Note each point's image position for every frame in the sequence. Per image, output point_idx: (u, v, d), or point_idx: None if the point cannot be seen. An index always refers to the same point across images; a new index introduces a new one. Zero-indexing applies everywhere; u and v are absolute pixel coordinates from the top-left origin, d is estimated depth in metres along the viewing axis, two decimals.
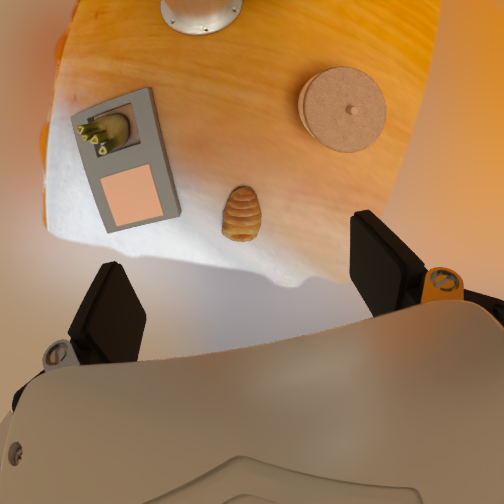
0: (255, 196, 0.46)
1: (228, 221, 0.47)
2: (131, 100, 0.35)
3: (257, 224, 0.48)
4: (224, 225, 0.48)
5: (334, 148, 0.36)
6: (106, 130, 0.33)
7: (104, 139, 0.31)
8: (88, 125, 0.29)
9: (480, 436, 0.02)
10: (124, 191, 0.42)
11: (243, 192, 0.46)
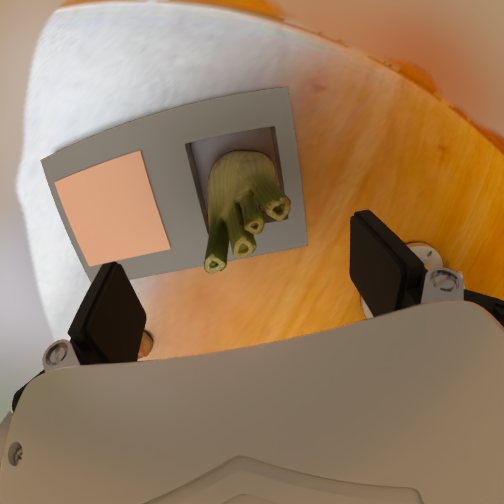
0: (144, 356, 0.33)
1: None
2: (290, 219, 0.24)
3: None
4: None
5: None
6: None
7: None
8: None
9: (480, 436, 0.02)
10: (117, 202, 0.21)
11: (146, 348, 0.32)
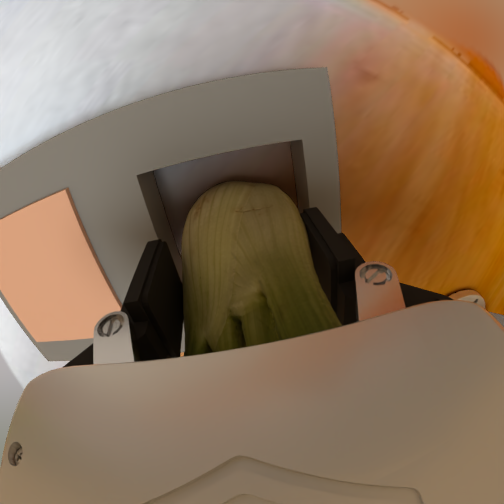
0: None
1: None
2: None
3: None
4: None
5: None
6: None
7: None
8: None
9: (480, 436, 0.02)
10: (48, 268, 0.12)
11: None
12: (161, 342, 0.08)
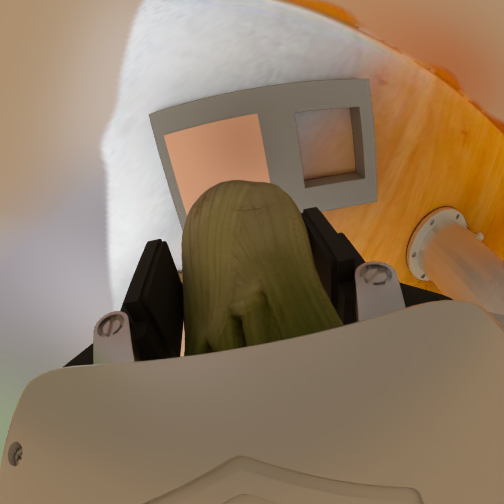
0: None
1: None
2: (366, 179, 0.28)
3: None
4: None
5: None
6: None
7: None
8: None
9: (480, 436, 0.02)
10: (230, 156, 0.26)
11: None
12: (161, 342, 0.08)
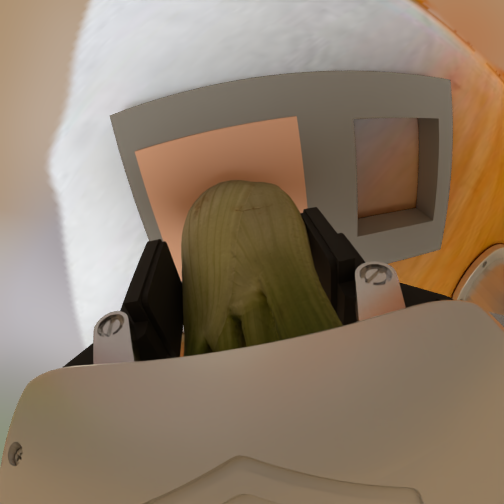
0: None
1: None
2: (434, 221, 0.19)
3: None
4: None
5: None
6: None
7: None
8: None
9: (480, 436, 0.02)
10: None
11: None
12: (161, 342, 0.08)
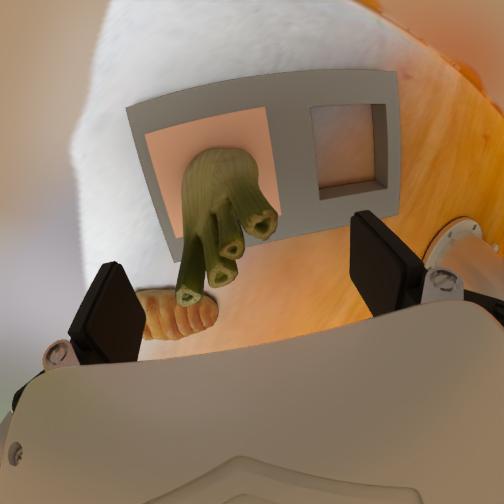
0: (209, 326, 0.31)
1: (163, 310, 0.27)
2: (389, 189, 0.24)
3: None
4: (153, 303, 0.27)
5: None
6: None
7: None
8: None
9: (480, 436, 0.02)
10: None
11: (213, 314, 0.30)
12: None
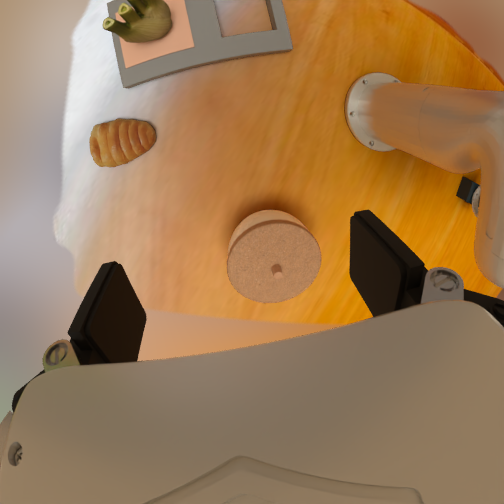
0: (147, 149, 0.34)
1: (110, 127, 0.31)
2: (278, 30, 0.27)
3: (115, 162, 0.34)
4: (105, 124, 0.31)
5: (230, 259, 0.36)
6: (143, 18, 0.19)
7: (127, 19, 0.17)
8: None
9: (480, 436, 0.02)
10: None
11: (149, 134, 0.33)
12: None
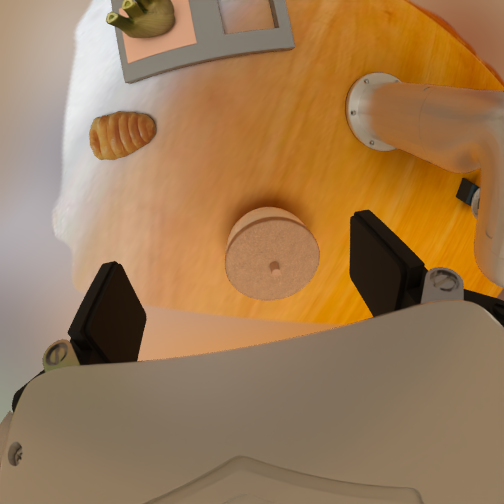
0: (147, 141, 0.34)
1: (110, 120, 0.30)
2: (281, 28, 0.27)
3: (115, 155, 0.33)
4: (105, 117, 0.30)
5: (228, 255, 0.35)
6: (146, 13, 0.19)
7: (131, 14, 0.17)
8: None
9: (480, 436, 0.02)
10: None
11: (149, 126, 0.33)
12: None
